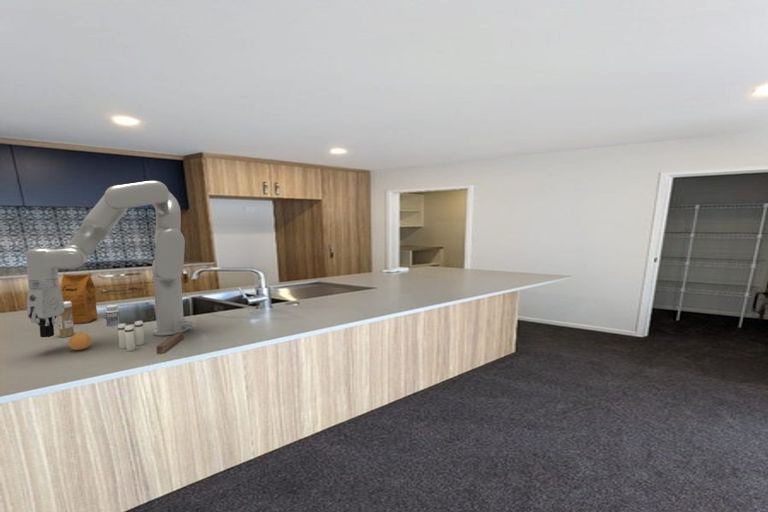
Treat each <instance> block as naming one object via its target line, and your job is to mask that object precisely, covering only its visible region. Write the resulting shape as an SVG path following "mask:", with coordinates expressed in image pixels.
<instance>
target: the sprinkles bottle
mask: <svg viewBox="0 0 768 512" xmlns="http://www.w3.org/2000/svg"><path fill="white" fill-rule="evenodd" d="M71 306H72V303H71V302H64V312H63V313H62V314H60V316H58V317H57V323H58V329H59V330H58V331H59V337H61V338H67V337H72V336H73V335H75V332H74V324H73V317H72V310H71Z"/></svg>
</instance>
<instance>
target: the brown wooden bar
mask: <svg viewBox="0 0 768 512" xmlns="http://www.w3.org/2000/svg"><path fill="white" fill-rule="evenodd" d="M182 340H184V332H177V333H176V334H173V335H170V337H168V338H167V339H165V340H163V341H162V342H160V343H159V344H158V345H156V353H157V354H164V353H166V352H167V351H169V350H170V349H171V348H172V347H174V346H175V345H176V344H178V343H179V342H181V341H182Z"/></svg>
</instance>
